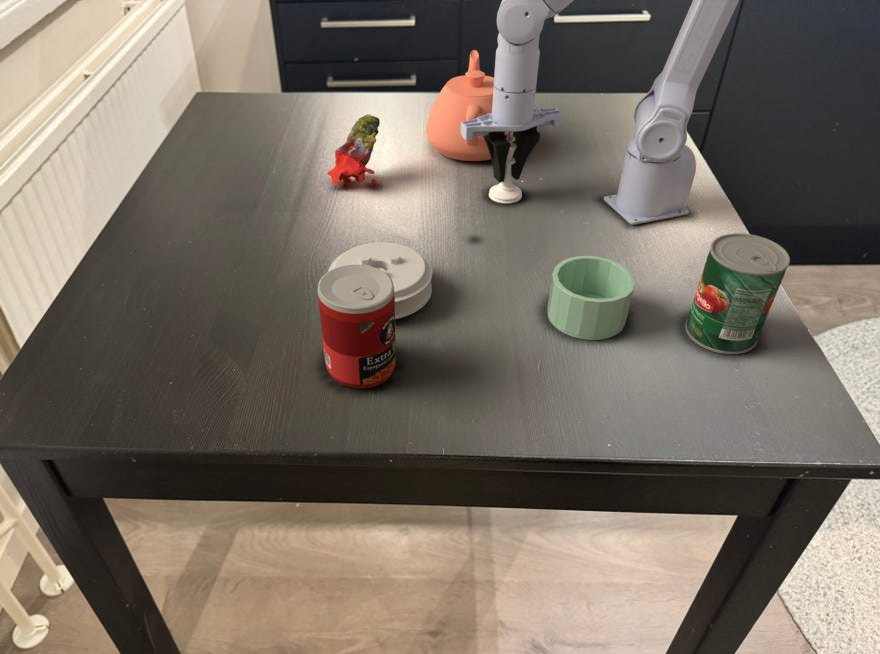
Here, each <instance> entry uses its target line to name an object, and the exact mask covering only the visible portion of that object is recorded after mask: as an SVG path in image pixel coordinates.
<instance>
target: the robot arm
mask: <svg viewBox="0 0 880 654" xmlns="http://www.w3.org/2000/svg"><path fill="white" fill-rule="evenodd" d="M574 1H575V0H501V2H500V4H499V8H498V11H497V14H496V26H497V30H498V34H497V48H496V50H495V60H494V74H493V75H494V76H493V78H494V89H493V103H492V113H489V114H486V115H483V116H481V117H478V118H475V119H472V120H469V121H464V122H461V136H462V137H463V138H464V139H465V140H466V141H467V140H472V139H473V137H478V136H483V138H484V140H485V143H486V145H487V148H488V150H489V153H490V157H491V159H490V160H491V165H492V171H493V178H494V179H495V180H496V181H497V182H498V183H501V182H504V178H505V169H506V160H507V156H508V152H509V149H510V146H511V143H510V142H509V141H508V140H507V139H506V135H505V132H513V137H515V141H512V142H514V143H515V144H516V145H517V147H516V149H515V151H514V154H513V156H512V157H513V158H515V161H516V162H515V163H514V164H511V175H512V179H514V180H515V181H516V180H520V179H521V175H522V172H523V170H524V167H525V165H526V163H527V160H528V158H529V156H530V155H531V153H532V151H533V150H534V148H536V146H537V144H539V142H540V141H541V133H540V132H539V131H538V130H537V129H538V128H540V127H541V128H542V127H545V126H552V127H559V126H561V123H562V117H563V112H562V111H561V110H560V109H558V108H557V107H548V108H547V107H545V108H535V103H536V93H537V83H538V73H539V65H540V55H541V50H540V48H539V45H540V44H539V43H540V36H541V34H542V33H541V32H542V31H543V28H544V25H545V20H547V19H549V18H552V17H555V16H557V15H558V14H559V13H560V12H562V11H563V10H564V9H565V8H567V6H569V5H570V4H572V3H573V2H574ZM739 2H740V0H692V1H691V4H690V6H689V9H688V11H687V13H686V15H685V17H684V20H683V23H682V25H681V27H680V29H679V32H678V34H677V36H676V39H675V41H674V43H673V46H672V47H671V51H670V53H669V55H668V57H667V59H666V62H665V64H664V67H663V69H662V70H661V73H659V74H658V76H657V77H656V78H655V79H654V81H653V84H652V86H651V88H650V89H649V91H648V92H647V93H646V94H645V95H644V96H642V97H641V99H640V100H639V101H638V102H637V104H636V106H635V107H634V112H633V118H634V124H635V134H634V136H633V137H632V138H631V139H630V140H629V141H628V142H627V145H626V150H625V156H624V159H623V160H624V161H623V165H622V170H621V175H620V179H619V185H618V189H617V193H616V194H611V195H605V196H604V197H603V201H604V202H605V203H606V204H607V205H608V206H610V207H611V208H612V209H613V210H614V211H615V212H616V213H617V214H618V215H620V217H621V218H623V219H624V220H625V221H626V222H627V223H628V224H630V225H631V226H635V225H640V224H646V223H650V222H655V221H662V220H666V219H670V218H671V219H672V218H675V217H681V216H686V215H688V214H689V213H690V210H689V209H687V205H688V202H689V197H690V194H691V190H692V187H693V184H694V180H695V176H696V172H697V162H696V156H695V154H694V152H693V150H692V149H691V148H690V147H689V146H688V145H686V144H687V140H688V130H687V129H688V124H689V120H690V118H691V116H692V114H693V110H694V106H695V100H696V96H697V90H698V89H699V87H700V84H701V82H702V80H703V78H704V76H705V74H706V72H707V69H708V67H709V65H710V63H711V61H712V59H713V57H714V54H715V52H716V50H717V48H718V46H719V45H720V42H721V40H722V37H723V35H724V33H725V31H726V29H727V27H728V25H729V23H730V21H731V18H732V16H733V14H734V12H735V10H736V8H737V6H738V4H739Z"/></svg>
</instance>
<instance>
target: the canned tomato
mask: <svg viewBox="0 0 880 654" xmlns="http://www.w3.org/2000/svg"><path fill="white" fill-rule="evenodd" d="M790 263H791V258H790V255H789V253H788V251H787V250H786V249H785V248H784V247H783V246H781V245H780V244H778V243H777V242H775V241H773V240H770V239H768V238H766V237H763V236H759V235H755V234H751V233H743V232H741V233H740V232H739V233H738V232H735V233H727V234H722V235H720V236H718V237H716V238H715V239H713V241H712V242H711V243H710V247H709V251H708V254H707V257H706V259H705V263H704V265H703V266H704V267H703V269H702V273H701V275H700V280H699V281H698V285H697V288H696V291H695V295H694V297H693V301H692V304H691V307H690V310H689V314H688V317H687V319H686V321H685V325H684V327H685V332H686V335H687V336H688V337H689V338H690V340H692V342H694V343H695V344H697V346H700V348H703V349H705V350H707V351H709V352H713V353H717V354H721V355H740V354H744V353H748V352H750V351H751V350H753V349H754V348H755V347H756V345H757V344H758V339H759V337H760V335H761V333H762V330H763V327H764V325H765V323H766V321H767V318H768V315H769V314H770V310H771V308H772V306H773V304H774V301H775V298H776V296H777V294H778V292H779V289H780V286H781V284H782V282H783V279H784V277H785V274H786V272H787V269H788V267H789V266H790Z"/></svg>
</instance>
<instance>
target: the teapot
mask: <svg viewBox="0 0 880 654" xmlns="http://www.w3.org/2000/svg"><path fill="white" fill-rule="evenodd" d="M493 89H494V76H490V75H486V73H485V72H484V71H481V65H480V54H479V51H478V50H476V49H472V50H471V51H470V53H469V63H468V70H467V71H466V72H465V75H459V76H455V77H452V78H450V79H449V80H448V81H447V82H446V83H445V85H443V87H442V89H441V90H440V92H439V93H438V95H437V96H436V99H435V100H434V102H433V104H432V106H431V109H430V111H429V114H428V118H427V124H426V136H427V140H428V141H429V143H430V144H431V145H432V147H433V148H434V149H435V150H436V152H438V153H439V154H441V155H442V156H443V157H446V158H449V159H452V160H457V161H465V162H482V161H483V162H484V161H490V160H491V157H490V153H489V150H488V148H487V145H486V143H485V140H484V138H483V136H478V137H473V139H472V140H467V141H466V140H465V139H464V138H463V137H462V136H461V122H464V121H469V120H472V119H475V118H478V117H481V116H483V115H486V114H489V113H492V103H493ZM508 133H509V132H505V135H506V134H508ZM506 139H507V140H508V138H507V137H506Z"/></svg>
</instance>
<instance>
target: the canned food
mask: <svg viewBox="0 0 880 654" xmlns="http://www.w3.org/2000/svg"><path fill="white" fill-rule="evenodd" d="M317 298H318V309H319V319H320V327H321V336H322V337H321V338H322V346H323V355H324V363H325V367H326V369H327V371H328V373H329V375H330V376H331V378H332V379H333V380H334V381H335V382H336V383H338V384H340V385H341V386H344V387H346V388H347V387H348V388H350V389H351V388H352V389H369V388H374V387H377V386H379V385H382V384H383V383H385V382H386V381H388V379H389V378H390V377H391V376H392V374H393V372H394V370H395V367H396V363H397V354H396V353H397V351H396V345H397V344H396V319H395V297H394V286H393V281H392V279H391V278H390V276H389V275H388V274H386V273H385V272H384V271H382V270H380V269H378V268H375V267H372V266H367V265H345V266H341V267H337V268H335V269H332V270H330V271H329V272H328V271H327V272H325V274H323V275H322V276H321V277H320V279H319V281H318V284H317Z"/></svg>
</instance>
